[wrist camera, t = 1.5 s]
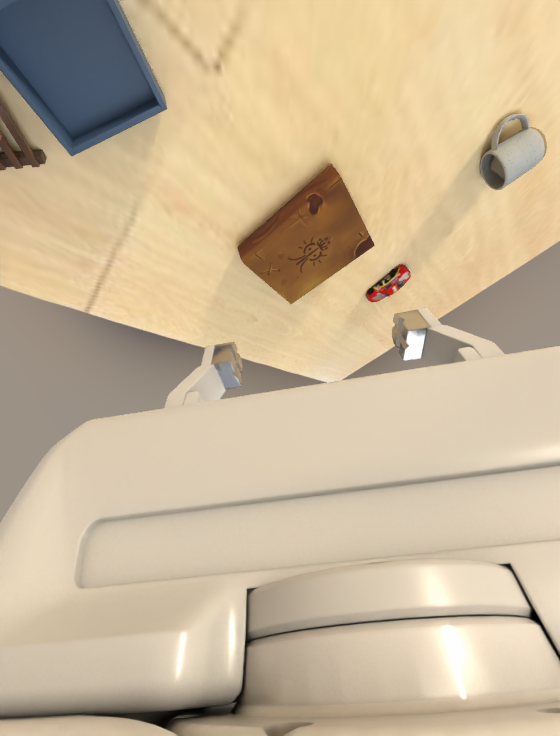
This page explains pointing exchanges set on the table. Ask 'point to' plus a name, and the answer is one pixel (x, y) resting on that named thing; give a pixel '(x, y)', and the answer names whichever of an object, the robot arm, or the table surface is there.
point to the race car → (389, 284)
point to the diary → (308, 238)
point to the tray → (78, 68)
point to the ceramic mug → (512, 154)
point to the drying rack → (19, 158)
